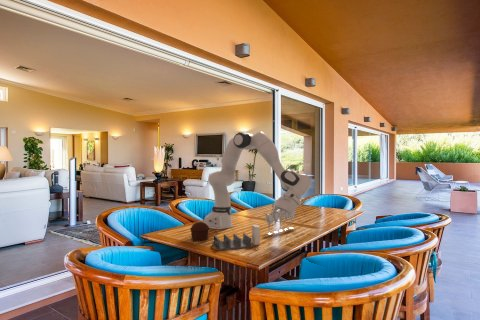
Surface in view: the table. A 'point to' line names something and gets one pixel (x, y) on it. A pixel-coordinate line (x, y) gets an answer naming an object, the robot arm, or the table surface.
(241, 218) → the table surface
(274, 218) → the goblet set
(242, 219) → the table surface
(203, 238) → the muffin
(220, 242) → the dish rack
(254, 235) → the tall cream block
